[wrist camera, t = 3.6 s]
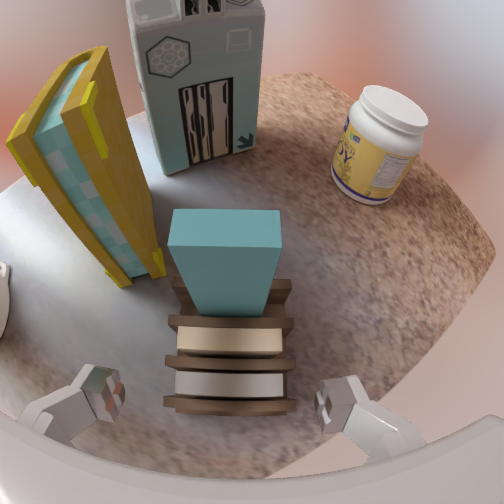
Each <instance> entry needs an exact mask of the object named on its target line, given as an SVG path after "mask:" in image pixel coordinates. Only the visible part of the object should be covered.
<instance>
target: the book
mask: <svg viewBox="0 0 504 504" xmlns="http://www.w3.org/2000/svg"><path fill="white" fill-rule="evenodd" d="M6 145H7V147H8V149H9V150H10V152H11V153H12V155H13V156H14V158H15V160H16V161H17V163H18V164H19V166H20V167H21V169H22V170H23V172H24V173H25V175H26V176H27V178H28V179H29V181H30V182H31V184H32V185H33V186H34V187H36V186H39V187H40V188H41V190H42V191H43V193H44V194H45V195H46V197H47V198H48V200H49V201H50V202H51V204H52V205H53V206H54V208H55V209H56V210H57V212H58V213H59V214H60V215H61V217H62V218H63V219H64V221H65V222H66V223H67V224H68V226H69V227H70V228H71V229H72V231H73V232H74V233H75V234H76V235H77V237H78V238H79V239H80V240H81V241H82V243H83V244H84V245H85V246H86V247H87V248H88V250H89V251H90V252H91V253H92V254H93V255H94V256H95V258H96V259H97V260H98V261H99V262H100V263H101V264H102V265H103V266H104V267H105V273H106V274H107V275H108V276H109V277H110V278H111V279H112V280H113V281H114V282H115V283H116V284H117V285H118V286H119V287H120V288H123V287H126V286H130V285H133V281H132V277H135V276H139V275H143V274H147V273H149V274H150V276H151V277H152V279H157V278H160V277H164V276H167V274H166V269H165V263H164V258H163V252H162V249H161V247H160V248H158V243H157V236H156V230H155V222H154V215H153V207H152V199H151V193H150V190H149V187H148V185H147V182H146V179H145V176H144V173H143V170H142V168H141V165H140V162H139V159H138V156H137V153H136V150H135V147H134V144H133V140H132V137H131V134H130V131H129V128H128V124H127V121H126V118H125V114H124V111H123V107H122V104H121V100H120V97H119V93H118V89H117V85H116V81H115V77H114V73H113V70H112V65H111V61H110V56H109V52H108V48H107V46H98V47H95V48H91V49H89V50H86V51H83V52H81V53H79V54H77V55H75V56H73V57H71V58H70V59H68V60H67V61H65V62H63V63H62V64H61V65H60V66H59V67H58V68H57V69H56V70H55V72H54V73H53V74H52V76H51V77H50V78H49V79H48V81H47V82H46V84H45V85H44V86H43V88H42V89H41V90H40V92H39V93H38V95H37V96H36V98H35V99H34V101H33V102H32V104H31V105H30V107H29V108H28V110H27V112H25V113H24V114H22V115H21V117H20V118H19V120H18V122H17V123H16V125H15V127H14V128H13V130H12V132H11V134H10V135H9V137H8V139H7V141H6Z"/></svg>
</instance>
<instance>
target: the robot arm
mask: <svg viewBox="0 0 504 504" xmlns="http://www.w3.org/2000/svg"><path fill="white" fill-rule="evenodd" d="M8 278H9V266H8V265H7V264H5V263H2V262H0V338H1V336H2V334H3V331H4V329H5V326H6V322H7V318H8V312H9V288H8ZM119 379H120V374H119V371H117V370H114V369H109V368H105V367H101V366H95V365H91V364H85V365H84V366H83V368H82V369H81V370H80V372H79V373H78V375H77V376H76V378H75V379H74V381H73V382H72V384H71V385H70V386H65V387H63V388H61V389H59V390H56V391H54V392H52V393H50V394H48V395H46V396H44V397H42V398H39V399H37V400H35V401H33V402H31V403H28V405H27V406H26V408H25V409H24V411H23V412H22V413H21V415H20V416H19V418H18V419H17V421H16V420H14V419H12V418H10V417H9V416H7V415H5V414H4V413H2V412H1V411H0V504H504V419H503V418H500V417H498V416H494V415H487V416H485V417H482V418H481V419H479V420H477V421H475V422H474V423H472V424H470V425H468V426H466V427H464V428H462V429H460V430H458V431H456V432H454V433H452V434H450V435H448V436H446V437H443V438H441V439H439V440H437V441H434V442H432V443H430V444H427V443H426V441H425V440H424V438H423V436H422V435H421V433H420V431H419V429H418V428H417V426H416V424H414V423H413V422H411V421H409V420H407V419H405V418H403V417H402V416H400V415H398V414H396V413H395V412H393V411H391V410H389V409H388V408H386V407H384V406H382V405H380V404H379V403H377V402H376V401H374V400H372V401H370V399H369V397H368V395H367V393H366V391H365V389H364V388H363V386H362V384H361V382H360V380H359V378H358V376H357V375H350V376H344V377H335V378H326V379H321V380H320V381H319V385H318V387H319V391H318V392H317V393H316V397H315V410H316V414H317V415H318V416H320V420H319V424H320V428H321V431H322V434H328V433H336V432H342V433H343V434H344V435H346V436H347V437H348V438H349V439H350V440H351V441H352V442H354V443H355V444H356V445H357V446H358V447H359V448H361V449H362V450H363V451H364V452H365V453H367V454H368V455H369V456H370V457H369V458H368V459H367V461H366V462H365V464H364V465H362V466H358V467H353V468H349V469H344V470H339V471H334V472H328V473H322V474H315V475H307V476H299V477H289V478H276V479H217V478H203V477H193V476H184V475H177V474H170V473H164V472H158V471H153V470H148V469H143V468H138V467H134V466H130V465H126V464H122V463H118V462H114V461H111V460H108V459H104V458H101V457H98V456H95V455H92V454H89V453H86V452H83V451H80V450H78V449H75V447H74V446H73V444H72V443H71V442H70V440H71V439H73V438H74V437H75V436H77V435H78V434H79V433H81V432H82V431H83V430H85V429H86V428H87V427H89V426H90V425H91V424H93V423H94V422H95V421H97V419H99V420H103V421H107V422H111V423H115V421H116V418H117V416H118V414H119V410H118V407H120V406H121V405H122V404H123V402H124V399H125V389H124V386H123V384H122V383H121V382H120V381H119Z"/></svg>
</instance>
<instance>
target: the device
mask: <svg viewBox="0 0 504 504" xmlns="http://www.w3.org/2000/svg"><path fill="white" fill-rule="evenodd" d="M126 7H127V15H128V21H129V28H130V34H131V41H132V46H133V52H134V58H135V63H136V68H137V73H138V78H139V83H140V88H141V92H142V97H143V101H144V106H145V110H146V114H147V119H148V123H149V127H150V131H151V135H152V139H153V143H154V147H155V150H156V154H157V156H158V159H159V162H160V165H161V167H162V170H163V173H164V175H165V176H167V175H170V174H173V173H176V172H178V171H181V170H184V169H187V168H190V167H191V166H194V165H197V164H200V163H203V162H207V161H210V160H213V159H216V158H219V157H223V156H226V155H230V154H235V153H238V152H242V151H246V150H249V149H253V148H255V143H256V129H257V116H258V102H259V89H260V75H261V63H262V49H263V36H264V24H265V11H264V7H263V5H262V3H261V1H260V0H126Z"/></svg>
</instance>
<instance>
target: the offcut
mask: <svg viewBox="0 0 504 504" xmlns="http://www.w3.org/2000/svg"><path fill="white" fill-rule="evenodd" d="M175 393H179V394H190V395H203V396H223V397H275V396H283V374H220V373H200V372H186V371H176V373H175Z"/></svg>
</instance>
